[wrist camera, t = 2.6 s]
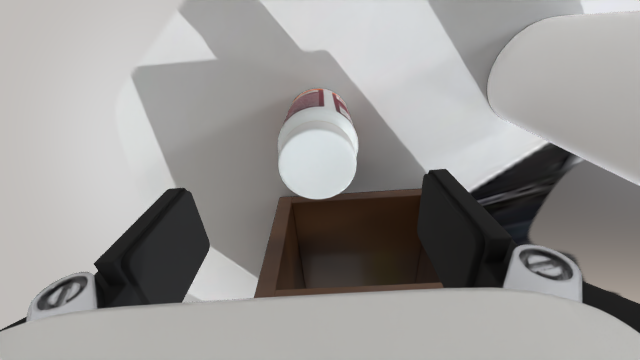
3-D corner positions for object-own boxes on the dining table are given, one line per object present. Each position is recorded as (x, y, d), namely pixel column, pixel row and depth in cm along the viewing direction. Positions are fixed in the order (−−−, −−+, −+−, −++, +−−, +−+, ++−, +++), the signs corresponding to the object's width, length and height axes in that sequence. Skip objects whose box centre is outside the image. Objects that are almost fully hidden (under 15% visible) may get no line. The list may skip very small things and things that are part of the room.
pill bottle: (283, 140, 21) (263, 196, 14) (295, 79, 19) (277, 109, 12) (339, 153, 22) (348, 213, 15) (357, 96, 20) (378, 134, 12)
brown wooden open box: (279, 197, 24) (240, 348, 13) (438, 187, 23) (550, 336, 12) (299, 306, 32) (287, 461, 20) (419, 301, 31) (475, 457, 20)
